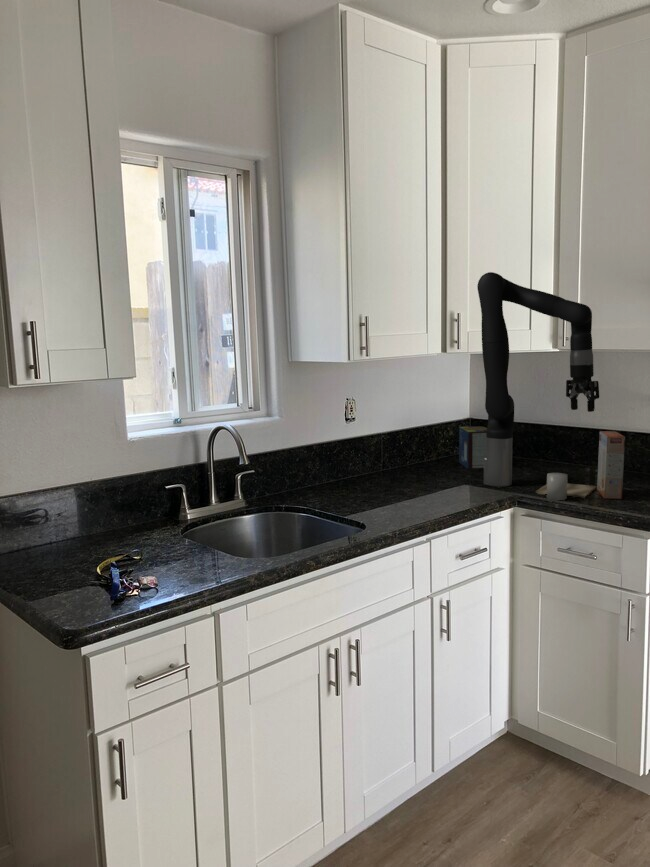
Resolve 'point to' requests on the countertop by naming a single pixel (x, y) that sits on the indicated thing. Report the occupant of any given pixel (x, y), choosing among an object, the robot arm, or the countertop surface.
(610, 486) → the cracker box
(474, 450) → the protein box
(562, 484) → the white rounded dome
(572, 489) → the maple board
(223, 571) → the countertop surface
